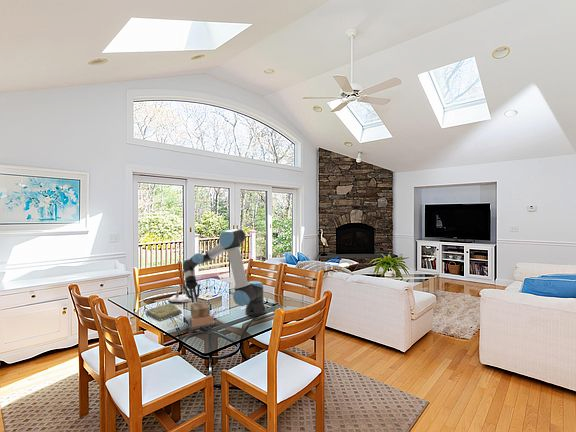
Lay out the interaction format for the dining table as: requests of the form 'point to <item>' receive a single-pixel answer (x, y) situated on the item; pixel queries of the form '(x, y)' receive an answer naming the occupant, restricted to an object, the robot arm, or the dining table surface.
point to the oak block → (199, 310)
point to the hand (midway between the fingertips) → (195, 306)
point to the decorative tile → (164, 311)
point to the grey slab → (199, 321)
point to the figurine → (180, 296)
